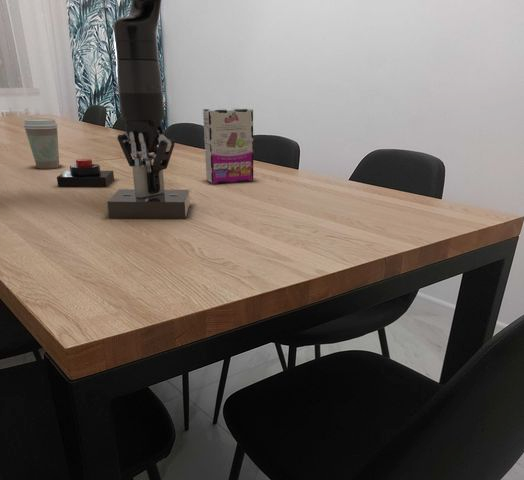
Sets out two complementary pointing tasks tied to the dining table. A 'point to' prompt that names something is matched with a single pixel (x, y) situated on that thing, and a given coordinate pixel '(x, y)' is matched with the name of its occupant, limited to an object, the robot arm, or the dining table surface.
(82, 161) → the power button
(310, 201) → the dining table surface
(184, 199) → the dark grey base plate
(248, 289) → the dining table surface
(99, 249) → the dining table surface
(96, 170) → the push button base
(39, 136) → the coffee cup
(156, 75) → the robot arm
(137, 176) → the knob
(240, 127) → the candy bar box
